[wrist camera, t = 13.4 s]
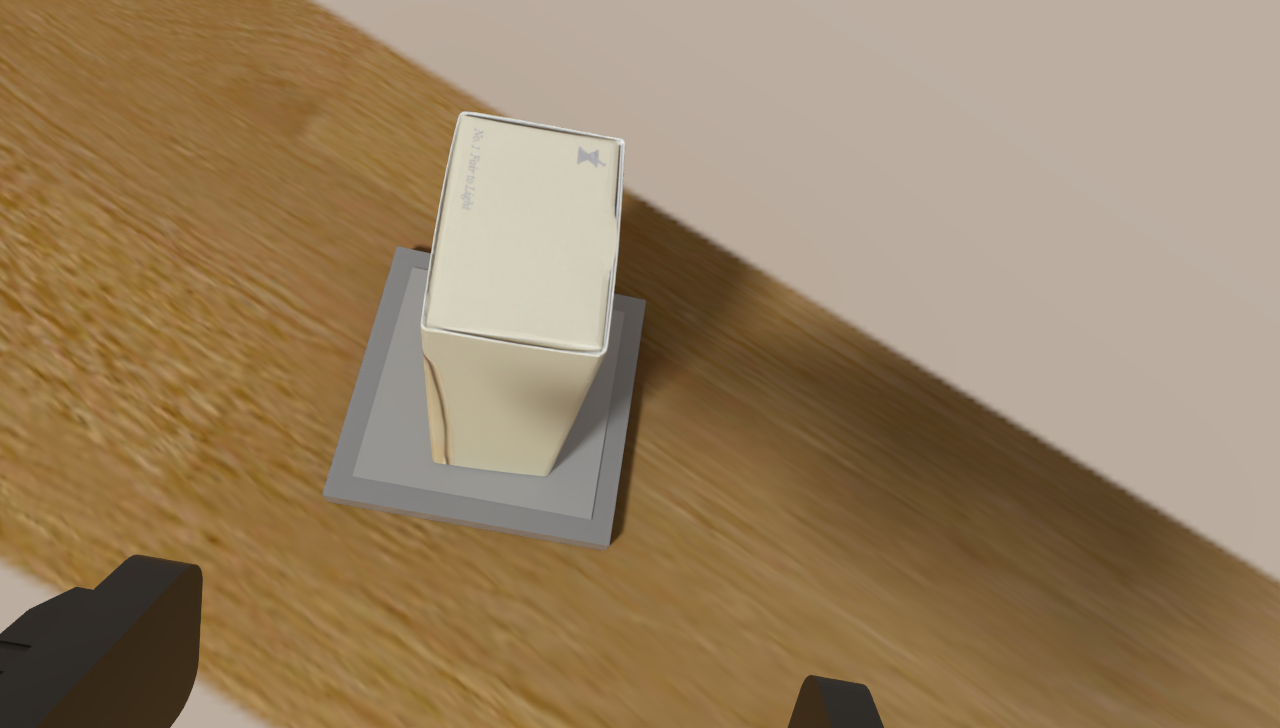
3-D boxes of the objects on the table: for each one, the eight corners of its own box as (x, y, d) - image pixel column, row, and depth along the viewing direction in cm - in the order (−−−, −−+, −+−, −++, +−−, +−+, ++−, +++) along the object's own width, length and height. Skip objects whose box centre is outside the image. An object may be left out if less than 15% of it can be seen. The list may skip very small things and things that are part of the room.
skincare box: (457, 311, 31) (453, 98, 20) (573, 328, 32) (630, 130, 21) (430, 470, 29) (408, 327, 18) (556, 485, 29) (610, 355, 18)
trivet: (641, 310, 34) (646, 299, 33) (604, 550, 30) (609, 545, 29) (399, 258, 33) (396, 244, 32) (326, 501, 29) (321, 494, 28)
